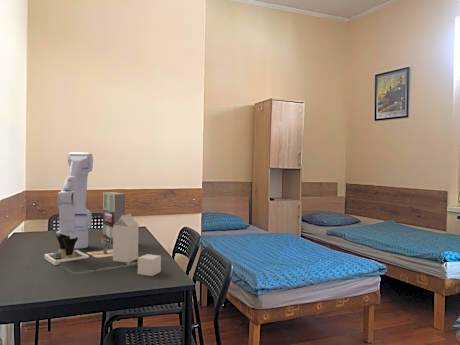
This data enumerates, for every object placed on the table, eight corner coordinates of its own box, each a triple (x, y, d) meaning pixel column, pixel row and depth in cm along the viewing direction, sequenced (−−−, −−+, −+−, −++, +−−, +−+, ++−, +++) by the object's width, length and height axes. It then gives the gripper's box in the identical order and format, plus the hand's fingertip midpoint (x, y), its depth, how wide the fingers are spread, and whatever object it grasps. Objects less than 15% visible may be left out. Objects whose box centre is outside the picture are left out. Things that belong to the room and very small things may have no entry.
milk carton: (138, 260, 156) (138, 214, 156) (128, 265, 150) (128, 216, 149) (123, 259, 159) (123, 213, 158) (112, 263, 152) (113, 215, 151)
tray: (44, 258, 157) (44, 254, 157) (77, 254, 166) (77, 249, 166) (54, 265, 147) (54, 260, 147) (88, 260, 156) (89, 255, 156)
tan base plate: (85, 254, 164) (86, 241, 164) (112, 251, 172) (112, 238, 172) (97, 260, 156) (97, 246, 155) (124, 256, 163) (124, 243, 163)
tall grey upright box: (100, 242, 189) (101, 192, 189) (112, 241, 193) (113, 192, 193) (112, 247, 179) (113, 194, 178) (125, 246, 183) (125, 194, 182)
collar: (70, 256, 160) (70, 248, 160) (75, 258, 156) (75, 250, 156) (53, 258, 155) (53, 250, 155) (56, 261, 151) (57, 252, 151)
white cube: (152, 276, 136) (152, 259, 136) (137, 274, 138) (137, 257, 138) (160, 271, 142) (161, 255, 141) (146, 270, 144) (146, 254, 144)
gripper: (51, 218, 159) (50, 251, 159) (62, 223, 148) (62, 258, 148) (68, 217, 163) (68, 249, 164) (81, 221, 153) (80, 255, 153)
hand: (66, 253), depth 156 cm, fingers open, 5 cm apart
